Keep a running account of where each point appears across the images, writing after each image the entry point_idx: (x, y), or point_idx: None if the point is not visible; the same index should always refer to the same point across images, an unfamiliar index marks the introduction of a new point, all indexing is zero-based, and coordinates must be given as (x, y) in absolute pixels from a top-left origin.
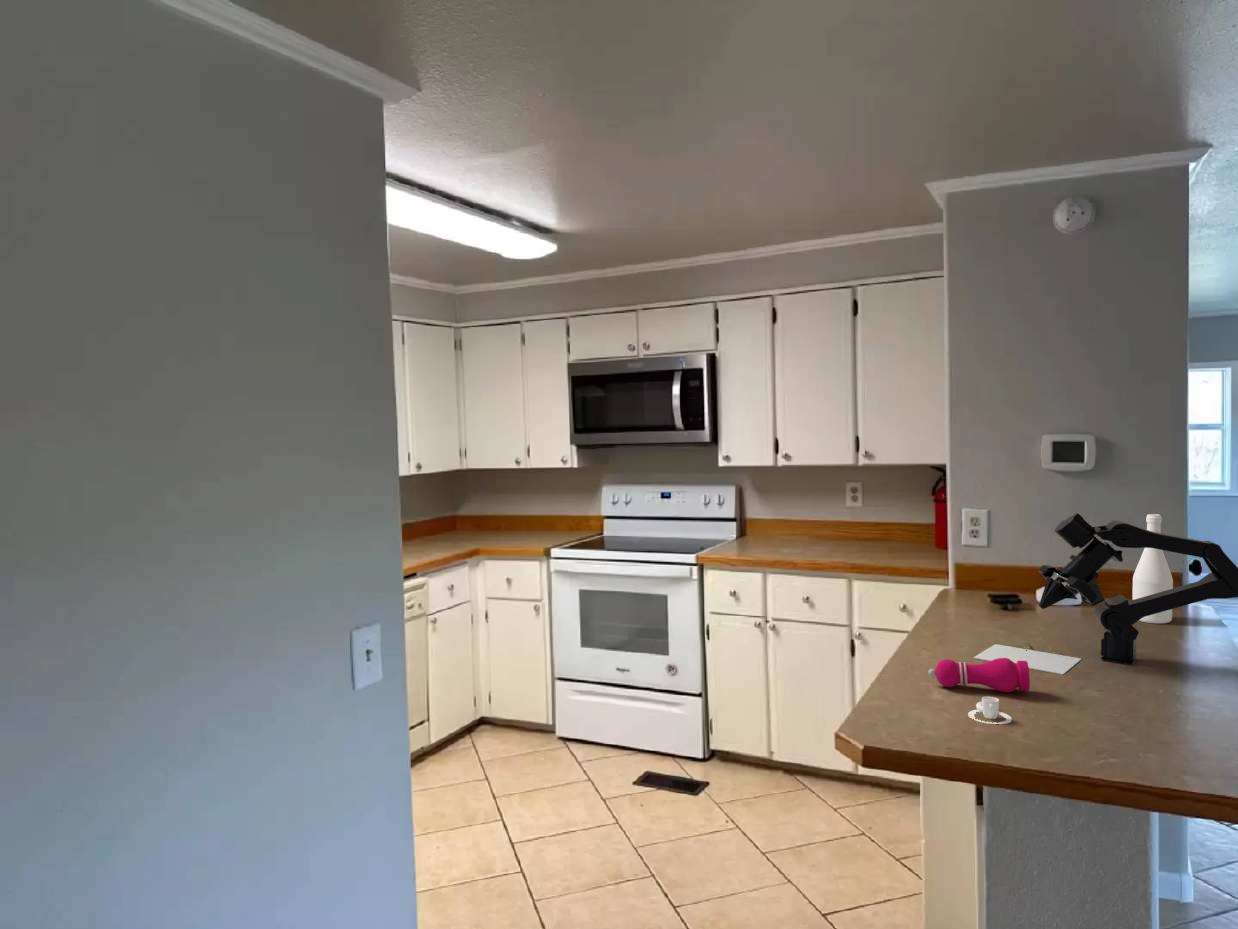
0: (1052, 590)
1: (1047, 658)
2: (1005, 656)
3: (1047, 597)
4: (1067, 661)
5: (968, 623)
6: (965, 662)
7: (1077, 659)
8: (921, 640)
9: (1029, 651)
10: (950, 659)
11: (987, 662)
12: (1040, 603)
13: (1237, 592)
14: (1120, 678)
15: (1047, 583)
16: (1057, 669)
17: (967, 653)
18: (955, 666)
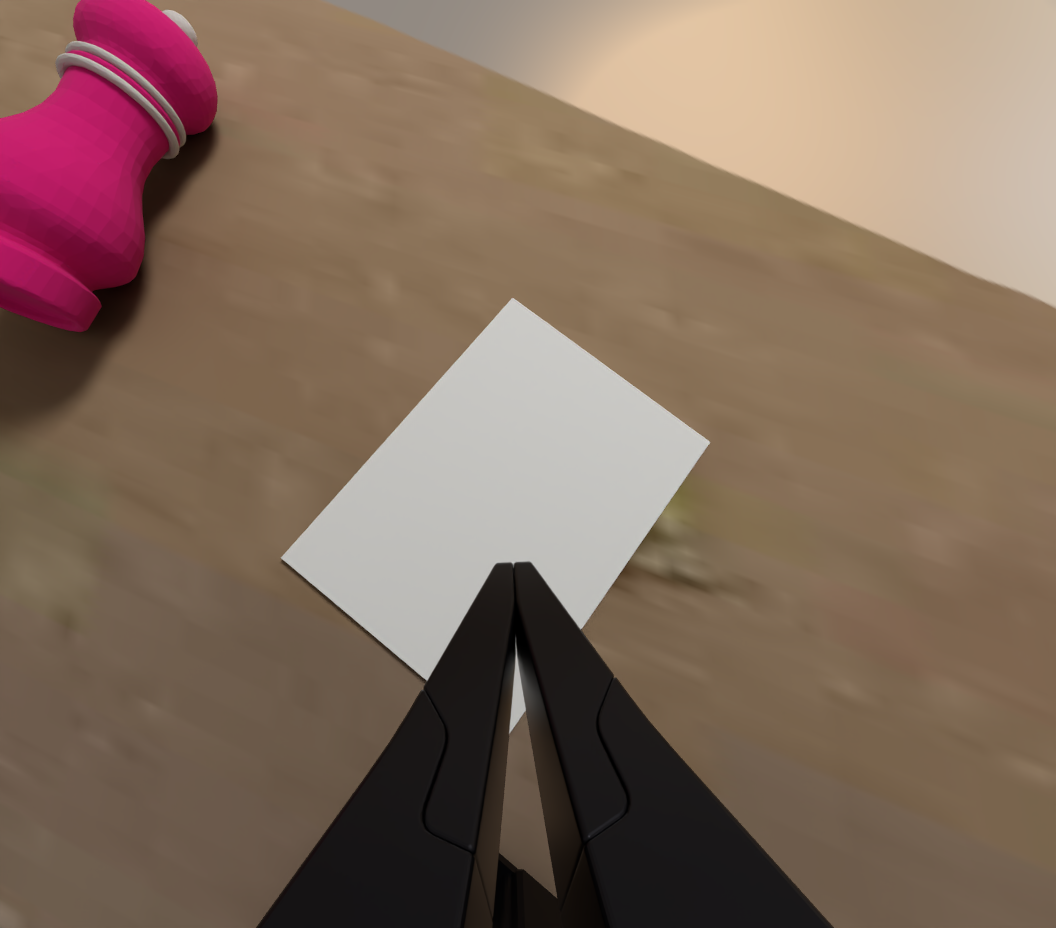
0: (357, 809)
1: None
2: (528, 417)
3: (446, 661)
4: None
5: (1042, 450)
6: (78, 59)
7: None
8: (741, 200)
9: (607, 544)
10: (108, 10)
11: (19, 117)
12: (519, 575)
13: None
14: (209, 801)
15: (695, 895)
16: (342, 559)
17: (579, 300)
18: (79, 35)
